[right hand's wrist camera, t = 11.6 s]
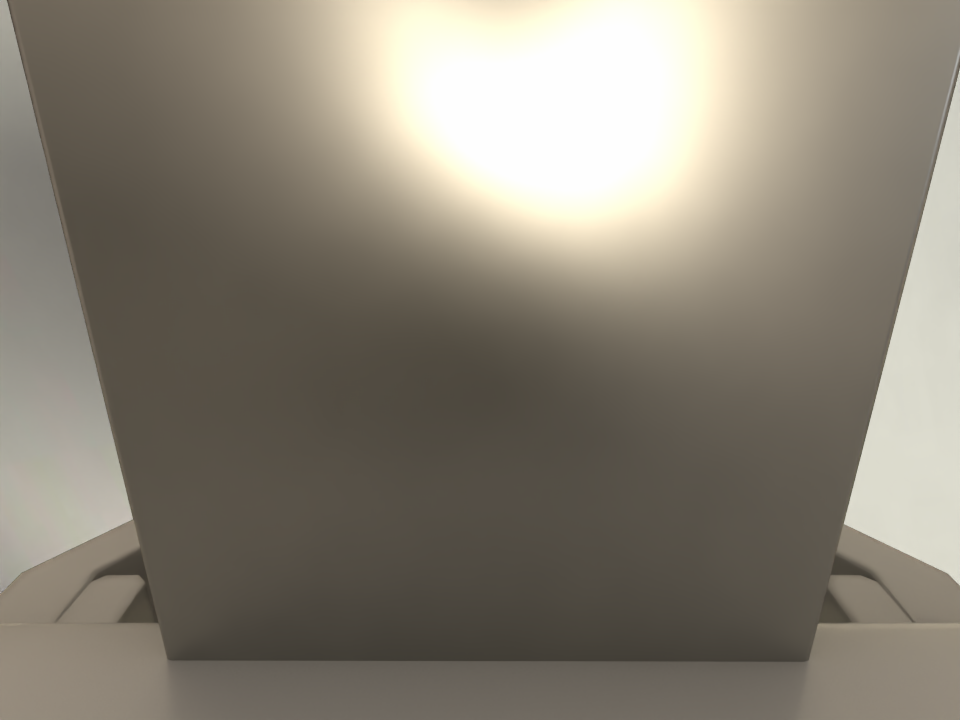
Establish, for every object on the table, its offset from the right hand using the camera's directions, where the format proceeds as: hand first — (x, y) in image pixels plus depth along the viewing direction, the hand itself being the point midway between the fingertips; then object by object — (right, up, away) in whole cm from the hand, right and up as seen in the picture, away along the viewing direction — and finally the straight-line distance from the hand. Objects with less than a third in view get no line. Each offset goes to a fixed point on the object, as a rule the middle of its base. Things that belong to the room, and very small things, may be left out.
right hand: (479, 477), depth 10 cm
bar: (0, +10, 0) cm, 10 cm away
